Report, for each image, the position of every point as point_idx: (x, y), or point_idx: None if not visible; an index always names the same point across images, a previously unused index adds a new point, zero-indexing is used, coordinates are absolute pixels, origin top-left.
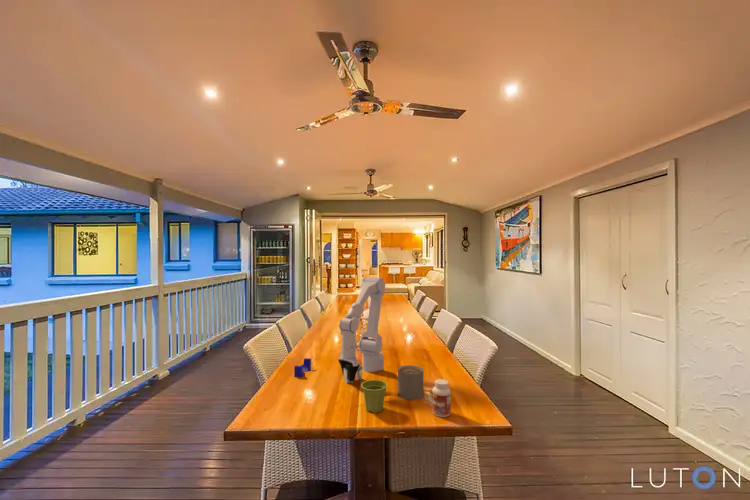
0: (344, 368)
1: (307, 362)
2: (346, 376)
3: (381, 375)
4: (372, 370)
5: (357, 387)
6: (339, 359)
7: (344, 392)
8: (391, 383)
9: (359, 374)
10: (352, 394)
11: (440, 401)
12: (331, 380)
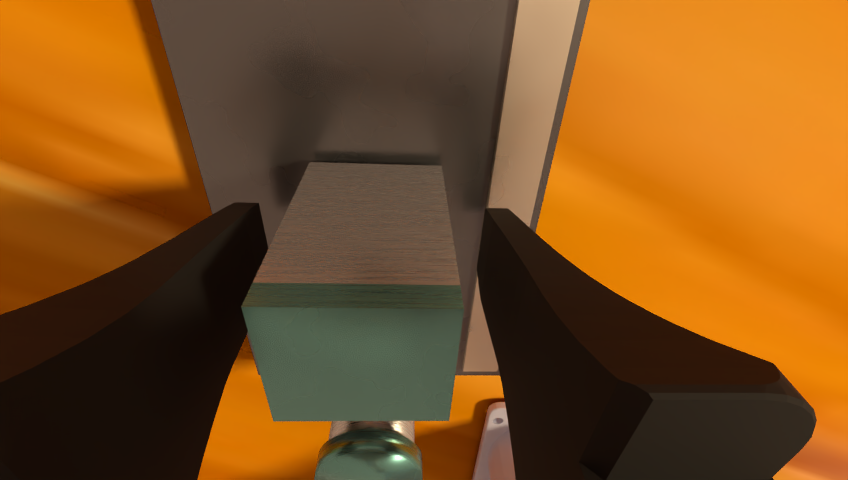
0: (401, 300)
1: None
2: (305, 214)
3: (439, 466)
4: (496, 474)
5: None
6: (789, 434)
7: (113, 17)
8: (251, 460)
9: None
10: (19, 95)
11: None
12: (672, 42)
